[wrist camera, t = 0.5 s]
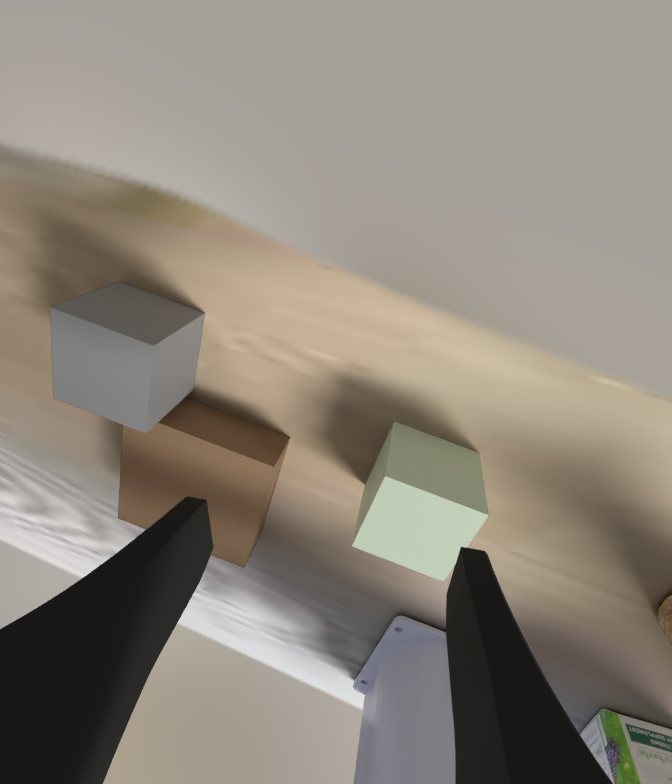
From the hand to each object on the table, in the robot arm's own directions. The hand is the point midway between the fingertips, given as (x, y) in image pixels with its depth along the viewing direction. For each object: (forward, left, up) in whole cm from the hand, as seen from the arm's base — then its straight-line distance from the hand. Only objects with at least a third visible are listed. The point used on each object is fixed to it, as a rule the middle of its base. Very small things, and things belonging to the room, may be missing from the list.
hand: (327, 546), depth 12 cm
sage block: (-4, -4, -10) cm, 11 cm away
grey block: (-2, +11, -10) cm, 15 cm away
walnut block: (-9, +7, -11) cm, 15 cm away
